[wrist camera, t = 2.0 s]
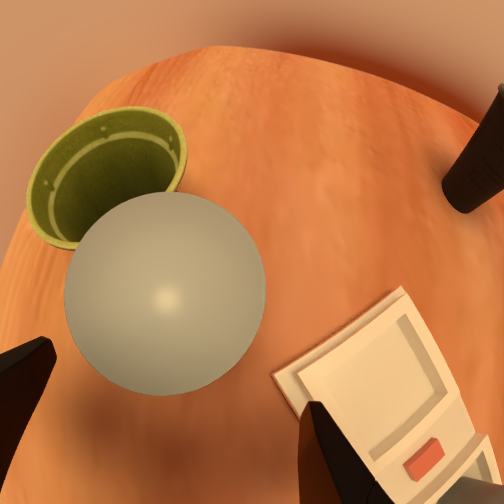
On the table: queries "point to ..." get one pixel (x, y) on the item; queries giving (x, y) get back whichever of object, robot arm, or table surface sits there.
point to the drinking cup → (479, 162)
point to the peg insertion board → (397, 406)
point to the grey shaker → (165, 293)
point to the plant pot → (103, 170)
